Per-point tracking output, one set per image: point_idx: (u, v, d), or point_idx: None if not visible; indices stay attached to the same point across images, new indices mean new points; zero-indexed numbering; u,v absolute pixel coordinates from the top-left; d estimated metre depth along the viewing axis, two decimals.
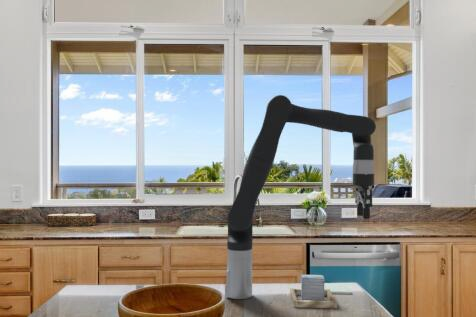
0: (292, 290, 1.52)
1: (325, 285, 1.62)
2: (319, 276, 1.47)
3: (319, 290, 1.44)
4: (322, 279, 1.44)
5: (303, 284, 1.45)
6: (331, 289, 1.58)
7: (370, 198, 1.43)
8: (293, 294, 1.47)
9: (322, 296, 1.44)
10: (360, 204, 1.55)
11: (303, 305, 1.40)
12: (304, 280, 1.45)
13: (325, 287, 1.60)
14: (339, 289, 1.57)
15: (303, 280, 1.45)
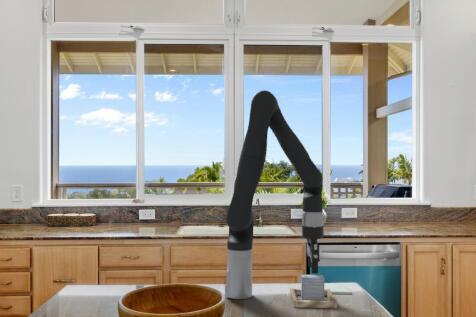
0: (292, 290, 1.52)
1: (325, 285, 1.62)
2: (319, 276, 1.47)
3: (319, 290, 1.44)
4: (322, 279, 1.44)
5: (303, 284, 1.45)
6: (331, 289, 1.58)
7: (317, 253, 1.40)
8: (293, 294, 1.47)
9: (322, 296, 1.44)
10: None
11: (303, 305, 1.40)
12: (304, 280, 1.45)
13: (325, 287, 1.60)
14: (339, 289, 1.57)
15: (303, 280, 1.45)
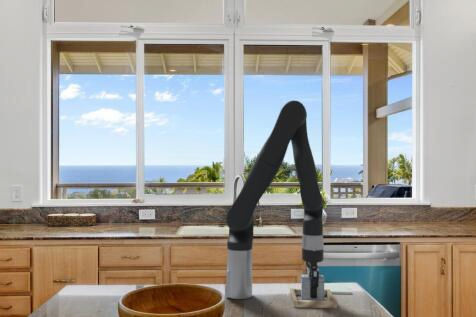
0: (292, 290, 1.52)
1: (325, 285, 1.62)
2: (319, 276, 1.47)
3: (319, 290, 1.44)
4: (322, 279, 1.44)
5: (303, 284, 1.45)
6: (331, 289, 1.58)
7: (316, 280, 1.41)
8: (293, 294, 1.47)
9: (322, 296, 1.44)
10: None
11: (303, 305, 1.40)
12: (304, 280, 1.45)
13: (325, 287, 1.60)
14: (339, 289, 1.57)
15: (303, 280, 1.45)
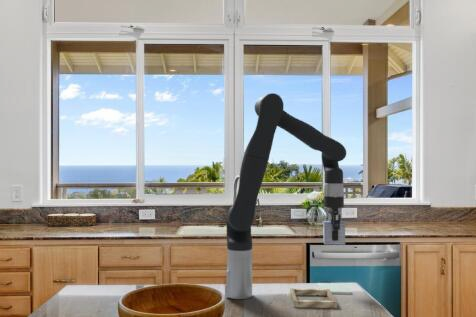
0: (292, 290, 1.52)
1: (325, 285, 1.62)
2: (340, 221, 1.60)
3: (340, 233, 1.58)
4: (343, 223, 1.58)
5: (325, 228, 1.58)
6: (331, 289, 1.58)
7: (338, 223, 1.54)
8: (293, 294, 1.47)
9: (343, 239, 1.58)
10: None
11: (303, 305, 1.40)
12: (326, 224, 1.58)
13: (325, 287, 1.60)
14: (339, 289, 1.57)
15: (325, 224, 1.58)
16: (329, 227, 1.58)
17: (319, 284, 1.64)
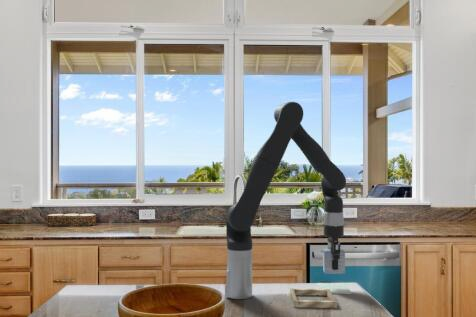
0: (292, 290, 1.52)
1: (325, 285, 1.62)
2: (340, 250, 1.60)
3: (340, 262, 1.58)
4: (343, 252, 1.58)
5: (325, 257, 1.58)
6: (331, 289, 1.58)
7: (338, 252, 1.54)
8: (293, 294, 1.47)
9: (343, 268, 1.58)
10: None
11: (303, 305, 1.40)
12: (326, 253, 1.58)
13: (325, 287, 1.60)
14: (339, 289, 1.57)
15: (325, 253, 1.58)
16: (329, 256, 1.58)
17: (319, 284, 1.64)
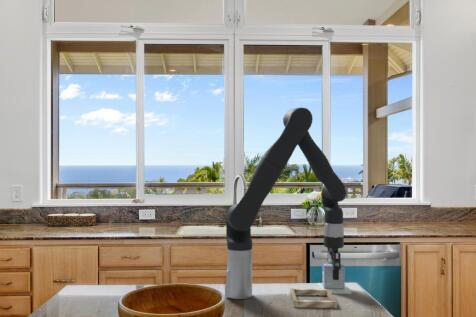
0: (292, 290, 1.52)
1: None
2: None
3: (339, 277, 1.58)
4: (343, 267, 1.58)
5: (325, 272, 1.58)
6: (331, 289, 1.58)
7: (338, 261, 1.53)
8: (293, 294, 1.47)
9: (343, 283, 1.58)
10: None
11: (303, 305, 1.40)
12: (326, 268, 1.58)
13: None
14: (339, 289, 1.57)
15: (325, 268, 1.58)
16: (329, 271, 1.58)
17: (319, 284, 1.64)
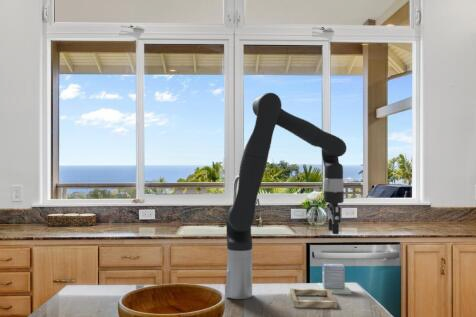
0: (292, 290, 1.52)
1: None
2: (339, 264, 1.60)
3: (339, 277, 1.58)
4: (343, 267, 1.58)
5: (325, 272, 1.58)
6: (331, 289, 1.58)
7: (338, 215, 1.54)
8: (293, 294, 1.47)
9: (343, 283, 1.58)
10: (331, 219, 1.65)
11: (303, 305, 1.40)
12: (326, 268, 1.58)
13: None
14: (339, 289, 1.57)
15: (325, 268, 1.58)
16: (329, 271, 1.58)
17: (319, 284, 1.64)
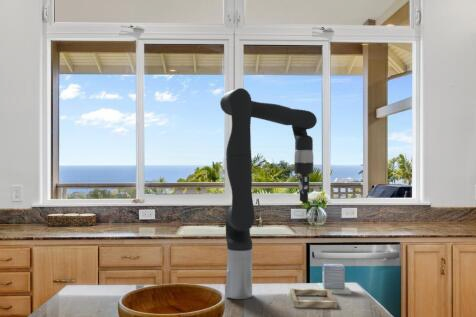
0: (292, 290, 1.52)
1: None
2: (339, 264, 1.60)
3: (339, 277, 1.58)
4: (343, 267, 1.58)
5: (325, 272, 1.58)
6: (331, 289, 1.58)
7: (307, 184, 1.59)
8: (293, 294, 1.47)
9: (343, 283, 1.58)
10: None
11: (303, 305, 1.40)
12: (326, 268, 1.58)
13: None
14: (339, 289, 1.57)
15: (325, 268, 1.58)
16: (329, 271, 1.58)
17: (319, 284, 1.64)
